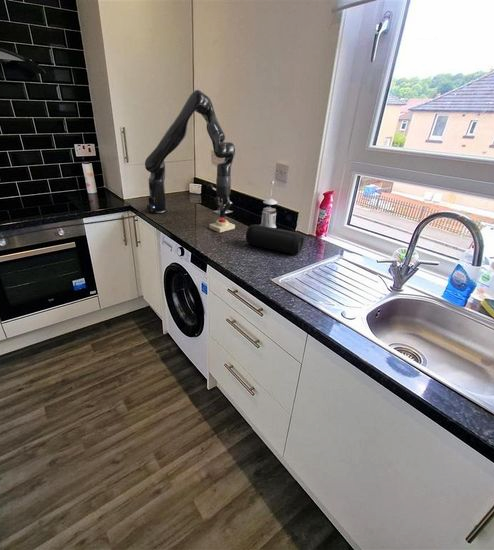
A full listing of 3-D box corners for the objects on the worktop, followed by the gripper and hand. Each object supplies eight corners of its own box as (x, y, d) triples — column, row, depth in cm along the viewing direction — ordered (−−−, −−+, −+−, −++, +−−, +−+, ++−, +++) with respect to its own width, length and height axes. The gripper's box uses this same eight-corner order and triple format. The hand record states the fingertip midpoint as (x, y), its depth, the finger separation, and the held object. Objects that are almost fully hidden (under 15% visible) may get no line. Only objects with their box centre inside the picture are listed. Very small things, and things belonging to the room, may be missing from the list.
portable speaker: (302, 251, 144) (305, 231, 139) (296, 258, 136) (299, 237, 132) (252, 240, 155) (254, 221, 150) (244, 246, 147) (245, 226, 142)
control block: (219, 232, 163) (219, 225, 161) (209, 228, 168) (209, 221, 167) (234, 228, 169) (235, 221, 167) (224, 224, 175) (224, 217, 173)
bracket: (221, 216, 188) (221, 193, 182) (212, 213, 193) (213, 190, 187) (232, 213, 194) (234, 191, 188) (224, 210, 199) (225, 188, 193)
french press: (277, 224, 178) (282, 180, 166) (274, 230, 168) (280, 184, 156) (260, 222, 180) (264, 178, 168) (257, 228, 170) (261, 182, 158)
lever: (209, 188, 177) (211, 183, 177) (205, 187, 179) (207, 182, 179) (225, 197, 188) (227, 193, 188) (222, 196, 190) (224, 192, 190)
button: (221, 223, 165) (222, 220, 164) (217, 221, 167) (217, 218, 166) (226, 222, 167) (227, 219, 166) (222, 220, 169) (222, 217, 168)
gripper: (209, 182, 160) (209, 215, 168) (226, 187, 151) (225, 221, 159) (220, 181, 164) (219, 212, 172) (237, 185, 156) (236, 218, 164)
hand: (222, 217), depth 166 cm, fingers closed
